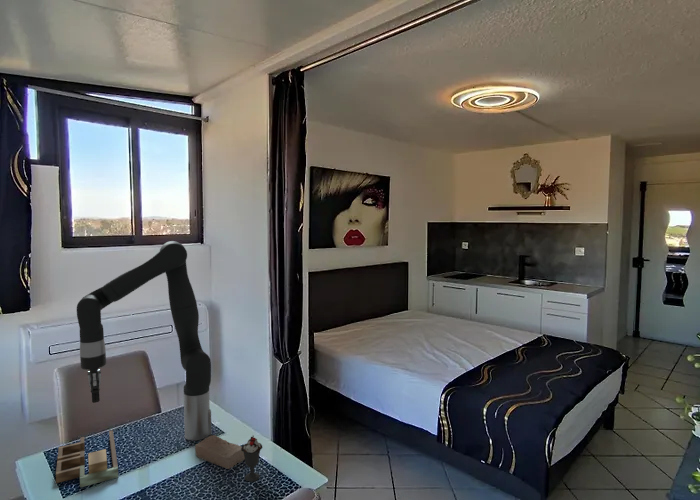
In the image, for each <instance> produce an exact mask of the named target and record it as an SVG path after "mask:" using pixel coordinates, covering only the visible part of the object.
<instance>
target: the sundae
mask: <svg viewBox="0 0 700 500" xmlns="http://www.w3.org/2000/svg"><path fill="white" fill-rule="evenodd" d="M241 447H242V448H241V451H243V452H244V457H245V459H244V463H245V465H246V466H247V468H249V472H248V473H246V475H244V480H246V481H245V482H247V481H250V482H249V483H253V481H254V482H256V480H257V481H258V480H259V479H260V478H259V477H261V475H260V474H259V473H258V472H255V467H256V466H257V465H258V464H259V459H260V453H261V450H262V449H263V445H262V443H261V442H259V441H258V439H257V438H256V437H254V435H252V436H250V439H248V440H247V443H244V444H242V446H241ZM254 472H255V473H254Z"/></svg>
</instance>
